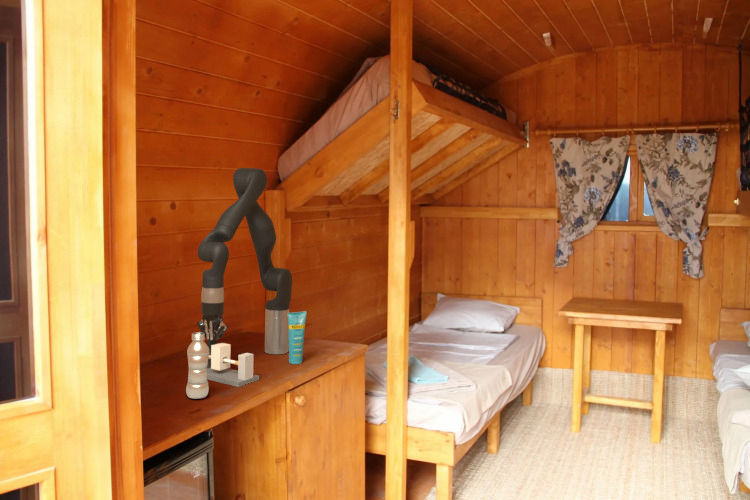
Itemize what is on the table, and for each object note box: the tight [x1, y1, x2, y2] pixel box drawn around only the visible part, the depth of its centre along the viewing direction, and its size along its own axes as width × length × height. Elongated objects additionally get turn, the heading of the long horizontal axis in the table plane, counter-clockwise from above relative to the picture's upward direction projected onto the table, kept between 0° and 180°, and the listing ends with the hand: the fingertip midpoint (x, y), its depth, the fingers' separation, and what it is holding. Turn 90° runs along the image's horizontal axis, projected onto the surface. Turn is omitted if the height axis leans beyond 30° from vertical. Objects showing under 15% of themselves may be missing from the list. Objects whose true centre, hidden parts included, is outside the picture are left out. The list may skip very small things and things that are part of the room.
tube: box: [288, 310, 308, 365], centre depth 247 cm, size 7×5×19 cm, turn 123°
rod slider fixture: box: [207, 352, 260, 388], centre depth 225 cm, size 10×22×10 cm, turn 59°
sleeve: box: [210, 342, 232, 371], centre depth 226 cm, size 5×4×8 cm
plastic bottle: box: [185, 331, 210, 400], centre depth 203 cm, size 6×7×20 cm
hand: (212, 350), depth 228 cm, fingers closed
